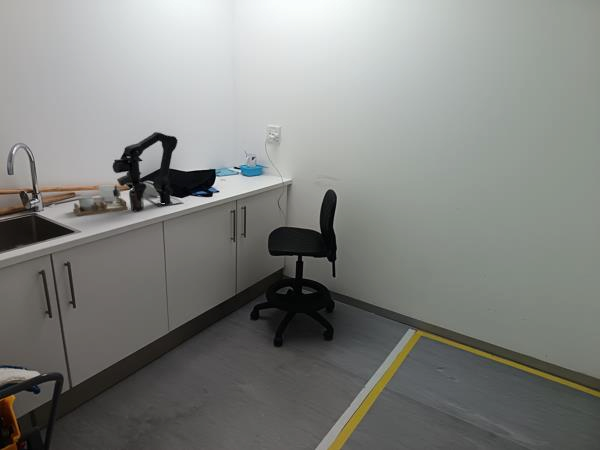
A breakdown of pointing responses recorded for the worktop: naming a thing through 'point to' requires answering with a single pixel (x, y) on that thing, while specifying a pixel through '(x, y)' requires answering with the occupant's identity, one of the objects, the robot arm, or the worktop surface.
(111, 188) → the shelf bracket
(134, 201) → the beverage can
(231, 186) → the worktop surface
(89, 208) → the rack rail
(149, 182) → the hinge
